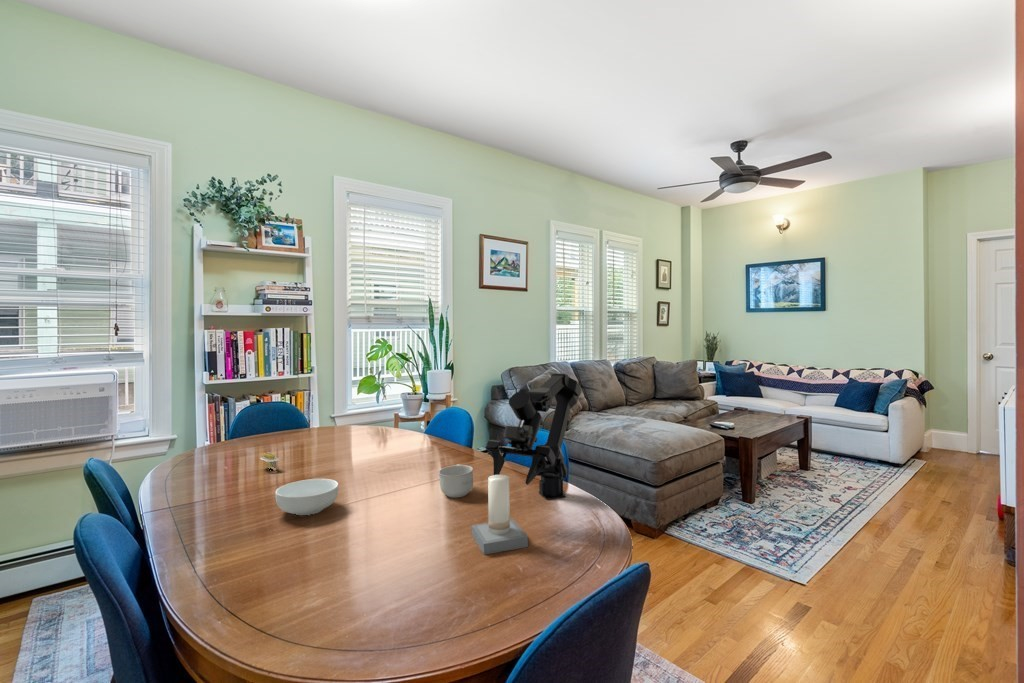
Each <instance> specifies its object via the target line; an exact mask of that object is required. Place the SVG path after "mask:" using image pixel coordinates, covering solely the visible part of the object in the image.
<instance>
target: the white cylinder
mask: <svg viewBox="0 0 1024 683" xmlns="http://www.w3.org/2000/svg"><path fill="white" fill-rule="evenodd" d="M487 486H488V488H487V491H488V492H487V494H488V497H487V498H488V499H487V500H488V502H487V503H488V504H487V505H488V519H487V520H488V522H487V523H488V525H489V532H490V533H491V534H495V535H503V534H506V533H508V532H509V531H510V519H511V516H510V515H511V512H510V509H511V508H510V507H511V506H510V504H511V503H510V502H511V501H510V497H511V496H510V477H509V475H506V474H499V475H494V474H492V475H490V476H488V478H487Z"/></svg>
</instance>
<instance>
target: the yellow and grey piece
mask: <svg viewBox="0 0 1024 683" xmlns="http://www.w3.org/2000/svg"><path fill="white" fill-rule="evenodd" d="M259 460H262V461H264V462H265V464H266V468H267V467H268V468H269V469H270V468H271V467H274V468H276V469H277V462H278V461H280V458H278V457H276V454H274V453H272V452H269V451H267V454H266V453H264V452H263V454H262V456H260V457H259ZM268 468H267V469H268ZM269 469H268V470H269Z"/></svg>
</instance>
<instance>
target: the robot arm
mask: <svg viewBox="0 0 1024 683" xmlns="http://www.w3.org/2000/svg"><path fill="white" fill-rule="evenodd" d="M581 393H582V388H581V385H580V384H579V382H578V381H577V380H575V379H573V378H571V377H570V376H569V375H568V374H566V373H559V372H557V373H556V372H555V373H552V374H551V376H550V377H549V378H548V379H547V380H546V381H545V382H544V383H543V384H542V385H541V386H540V387H537V388H532V389H530V390H528V389H527V388H519V391H518V392H517V391H516V392H515V393H514V394H512V395H511V397H509V399H508V405H509V407H510V408H511V411H512V413H513V414H514V415H515V417H516V418H517V419H518V420H519V422H518V425H517V426H513V425H505V428H504V435H503V439H507V443H508V444H509V445H510V446H505V444H504V443H503V441H502V440H497V439H490V440H487V442H486V443H485V447H484V449H486V451H487V453H488V454H489V456H490V457H491V458H492V461H493V475H501V474H500V473H501V471H502V469H503V467H504V465H505V462H506V460H505V458H506V456H507V455H513V456H514V455H515V456H522V457H529V458H531V464H530V467H529V470H528V472H527V475H526V479H525V485H528V486H529V484H530V483H531V482H532V481H533V480H534V479H535V478H536V477H540V480H539V484H538V485H539V487H538V488H539V491H538V494H540V495H541V496H542V497H543V498H544V499H545V500H552V499H560V498H566V494H565V493H564V479H567V477H568V476H567V475H568V467H567V465H566V462H565V461H564V460H565V455H564V454H563V451H562V445H563V441H564V437H565V432H566V430H567V429H566V428H567V426H568V425H567V424H568V420H569V417H570V416H569V415H570V412H571V409H572V408H573V407H574V406H575V405H576V404H577V403H578V400H579V398H580V396H581ZM553 398H555V401H556V404H555V408H554V413H553V416H552V419H551V420H552V421H551V425H550V428H549V432H548V435H547V440H546V443H545V444H538V445H535V443H538V437H537V436H538V433H539V428H540V426H543V425H544V421H543V417H542V415H541V413H540V412H543V413H547V412H548V411H549V410H550V408H551V407H552V405H553V401H552V399H553ZM534 445H535V448H534Z"/></svg>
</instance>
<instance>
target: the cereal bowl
mask: <svg viewBox="0 0 1024 683" xmlns="http://www.w3.org/2000/svg"><path fill="white" fill-rule="evenodd" d="M339 486H340V485H339V483H338V481H336V480H334V479H330V478H310V479H309V478H308V479H302V480H297V481H293V482H289V483H287V484H284V485H281V486H280V487H278V488H277V489H275V495H274V496H275V501H276V502H275V503H276V505H277V506H278V508H279V509H280V510H281V511H282V512H286V513H287V514H288V513H289V514H293V515H294V514H296V515H308V516H311V515H310V514H313V515H315V513H316V514H318V513H320V512H322V511H323V510H324V509H326V508H328V507H329V506H332V504H333V503H335V501H336V500H337V498H338V495H339ZM296 515H295V516H296Z"/></svg>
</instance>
